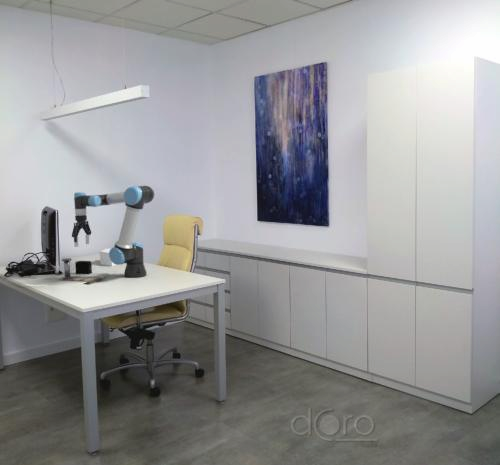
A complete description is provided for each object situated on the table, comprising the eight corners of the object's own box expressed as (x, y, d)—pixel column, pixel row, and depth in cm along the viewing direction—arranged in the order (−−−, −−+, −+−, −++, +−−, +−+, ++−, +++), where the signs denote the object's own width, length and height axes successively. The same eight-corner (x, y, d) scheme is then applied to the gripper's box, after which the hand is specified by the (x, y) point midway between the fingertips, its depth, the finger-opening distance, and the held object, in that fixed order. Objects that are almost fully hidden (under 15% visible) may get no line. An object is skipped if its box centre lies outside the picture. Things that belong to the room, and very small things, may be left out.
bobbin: (74, 277, 361) (73, 258, 359) (68, 279, 355) (67, 259, 354) (66, 277, 363) (65, 258, 361) (61, 279, 357) (59, 259, 355)
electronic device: (89, 276, 372) (88, 262, 371) (75, 276, 374) (75, 261, 373) (92, 275, 377) (91, 261, 375) (79, 274, 379) (78, 260, 377)
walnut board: (103, 279, 360) (102, 277, 360) (90, 284, 346) (90, 281, 346) (68, 278, 368) (67, 275, 367) (54, 282, 353) (54, 279, 353)
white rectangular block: (117, 260, 440) (116, 247, 438) (121, 265, 413) (121, 252, 411) (98, 261, 435) (98, 248, 433) (102, 267, 408) (101, 253, 406)
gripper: (86, 213, 384) (87, 242, 386) (65, 216, 360) (66, 247, 362) (95, 213, 381) (96, 243, 384) (74, 216, 358) (76, 248, 360)
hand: (82, 245), depth 373 cm, fingers open, 13 cm apart
